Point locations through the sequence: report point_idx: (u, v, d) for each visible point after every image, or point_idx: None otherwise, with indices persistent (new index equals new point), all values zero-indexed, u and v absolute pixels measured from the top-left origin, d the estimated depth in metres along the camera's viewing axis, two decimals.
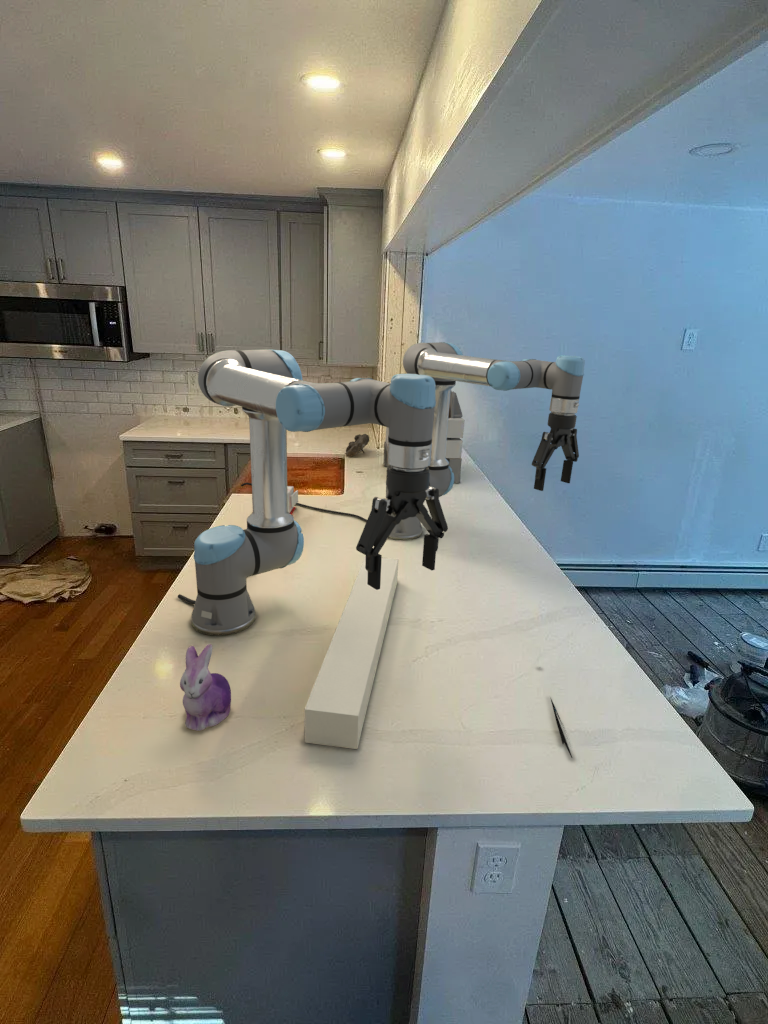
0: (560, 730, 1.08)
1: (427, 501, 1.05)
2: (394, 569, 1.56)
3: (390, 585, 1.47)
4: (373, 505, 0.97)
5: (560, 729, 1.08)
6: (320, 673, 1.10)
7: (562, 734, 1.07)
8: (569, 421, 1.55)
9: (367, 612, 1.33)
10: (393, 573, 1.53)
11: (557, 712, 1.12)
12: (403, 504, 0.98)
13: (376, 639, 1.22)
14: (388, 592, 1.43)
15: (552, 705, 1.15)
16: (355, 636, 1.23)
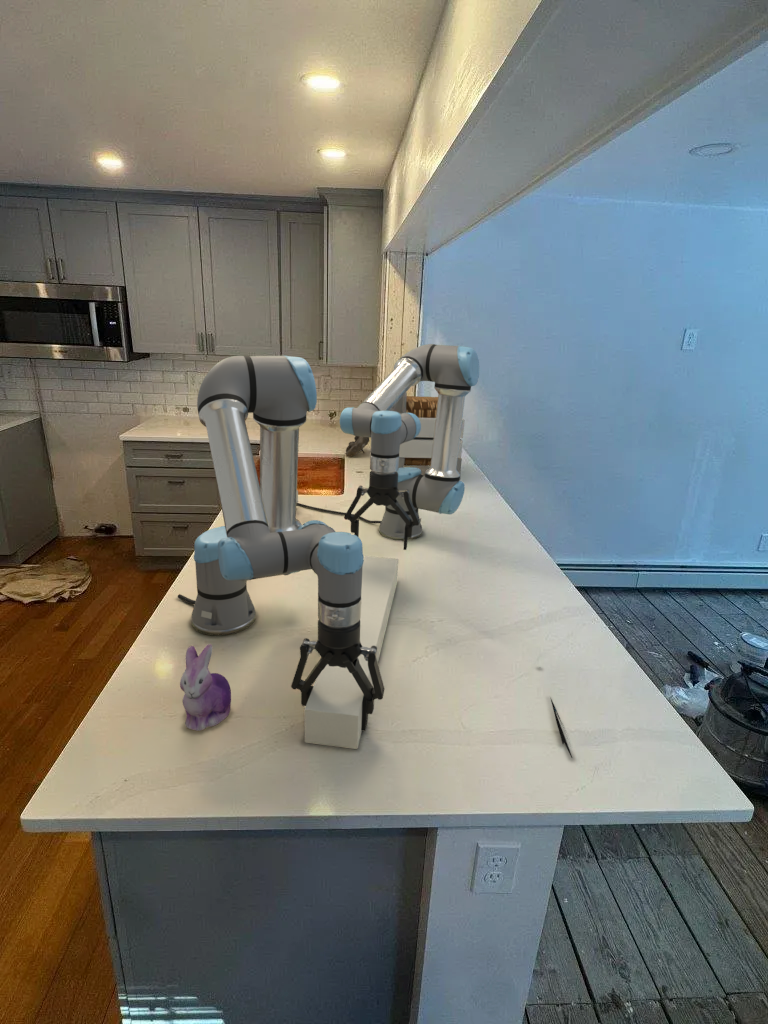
0: (560, 730, 1.08)
1: None
2: (394, 569, 1.56)
3: (390, 585, 1.46)
4: None
5: (560, 729, 1.08)
6: (320, 673, 1.10)
7: (562, 734, 1.07)
8: (375, 479, 1.46)
9: (367, 612, 1.33)
10: (393, 573, 1.53)
11: (557, 712, 1.12)
12: (326, 652, 1.01)
13: (376, 639, 1.22)
14: (388, 592, 1.43)
15: (552, 705, 1.15)
16: None
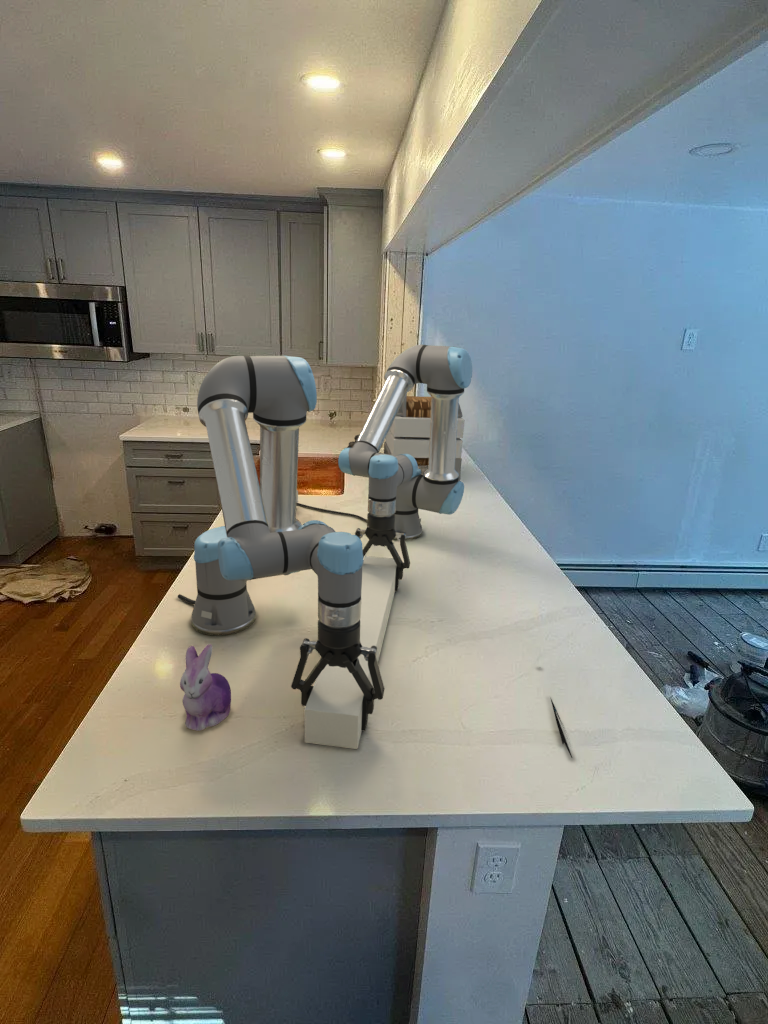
0: (560, 730, 1.08)
1: None
2: (394, 569, 1.56)
3: (390, 585, 1.46)
4: None
5: (560, 729, 1.08)
6: (320, 673, 1.10)
7: (562, 734, 1.07)
8: (372, 521, 1.50)
9: (367, 612, 1.33)
10: (393, 573, 1.53)
11: (557, 712, 1.12)
12: (326, 652, 1.01)
13: (376, 639, 1.22)
14: (388, 592, 1.43)
15: (552, 705, 1.15)
16: None
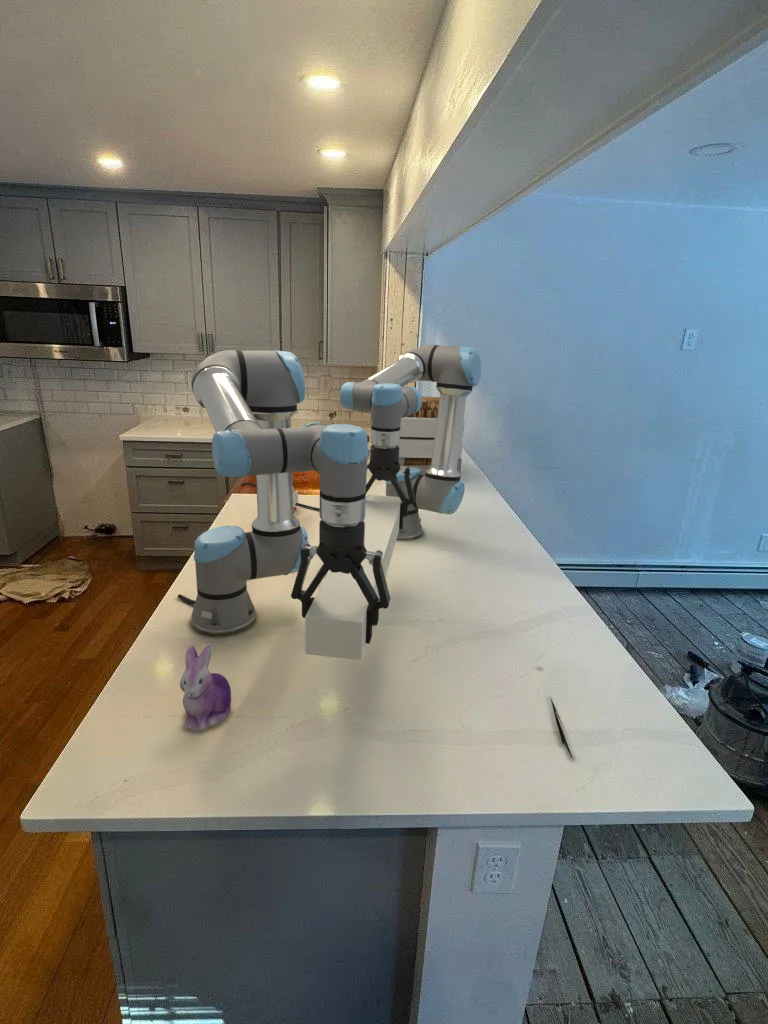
0: (560, 730, 1.08)
1: None
2: (398, 505, 1.50)
3: (394, 518, 1.40)
4: None
5: (560, 729, 1.08)
6: (322, 587, 1.04)
7: (562, 734, 1.07)
8: (376, 453, 1.44)
9: (371, 539, 1.27)
10: (397, 508, 1.47)
11: (557, 712, 1.12)
12: (328, 556, 0.95)
13: None
14: (392, 523, 1.37)
15: (552, 705, 1.15)
16: None
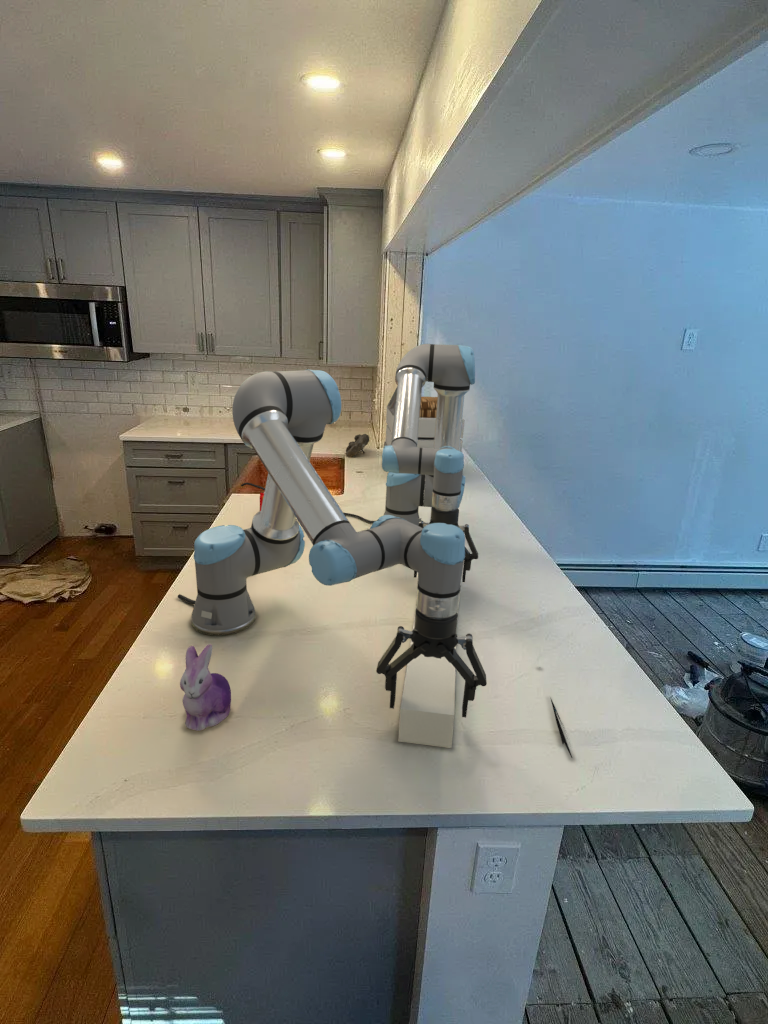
0: (560, 730, 1.08)
1: None
2: None
3: None
4: None
5: (560, 729, 1.08)
6: (407, 673, 1.12)
7: (562, 734, 1.07)
8: (437, 516, 1.50)
9: None
10: None
11: (557, 712, 1.12)
12: (422, 643, 1.01)
13: None
14: None
15: (552, 705, 1.15)
16: None
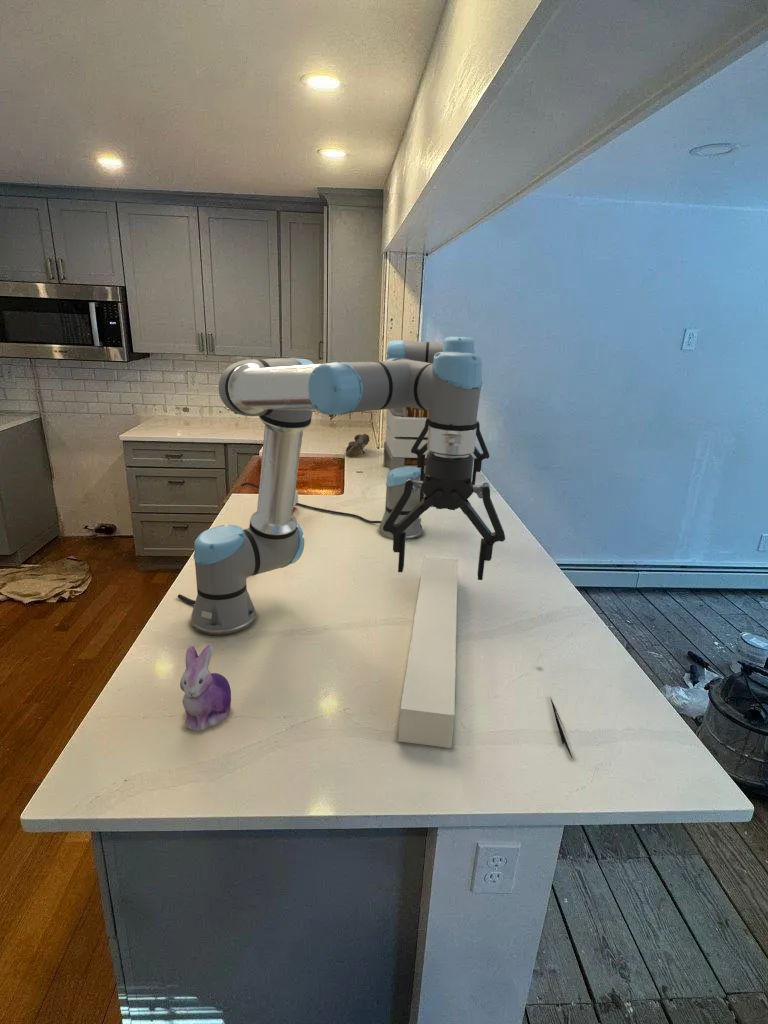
0: (560, 730, 1.08)
1: None
2: (456, 570, 1.57)
3: (455, 586, 1.48)
4: None
5: (560, 729, 1.08)
6: (407, 673, 1.12)
7: (562, 734, 1.07)
8: None
9: (440, 612, 1.34)
10: (456, 574, 1.54)
11: (557, 712, 1.12)
12: (434, 491, 0.92)
13: (454, 639, 1.24)
14: (455, 593, 1.44)
15: (552, 705, 1.15)
16: (433, 636, 1.24)
